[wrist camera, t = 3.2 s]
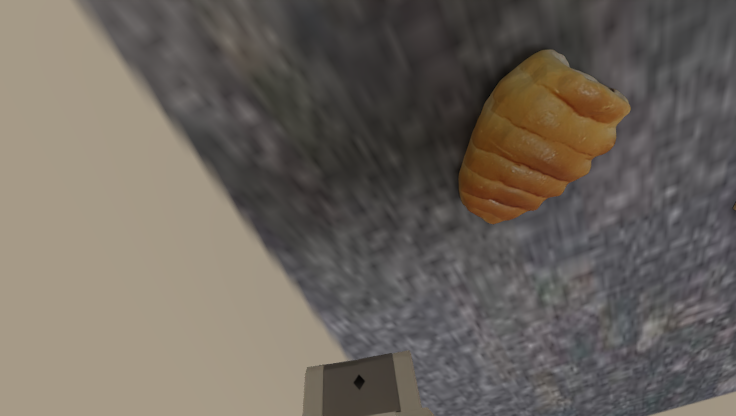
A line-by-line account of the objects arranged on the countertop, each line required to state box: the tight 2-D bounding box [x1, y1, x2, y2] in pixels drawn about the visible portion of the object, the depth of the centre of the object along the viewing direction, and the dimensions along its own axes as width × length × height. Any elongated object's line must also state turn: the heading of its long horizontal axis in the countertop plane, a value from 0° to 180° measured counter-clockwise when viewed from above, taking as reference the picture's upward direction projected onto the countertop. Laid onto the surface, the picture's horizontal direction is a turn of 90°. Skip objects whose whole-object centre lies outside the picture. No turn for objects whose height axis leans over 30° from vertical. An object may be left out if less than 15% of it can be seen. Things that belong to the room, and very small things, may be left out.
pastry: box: [459, 50, 631, 224], centre depth 20 cm, size 9×7×4 cm
